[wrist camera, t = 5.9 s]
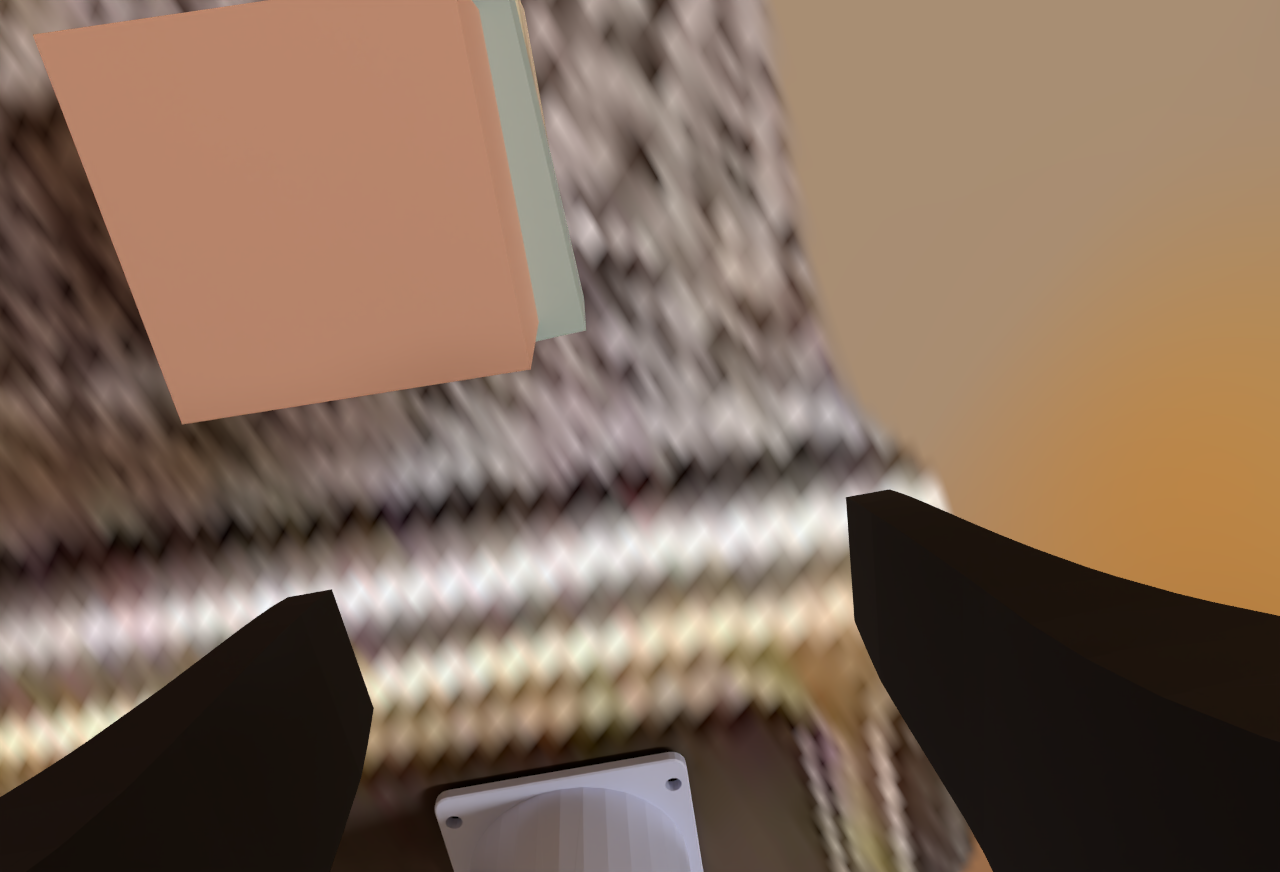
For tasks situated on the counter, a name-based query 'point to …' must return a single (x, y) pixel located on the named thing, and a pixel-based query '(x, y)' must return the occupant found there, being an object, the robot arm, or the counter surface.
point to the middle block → (532, 175)
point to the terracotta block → (303, 196)
